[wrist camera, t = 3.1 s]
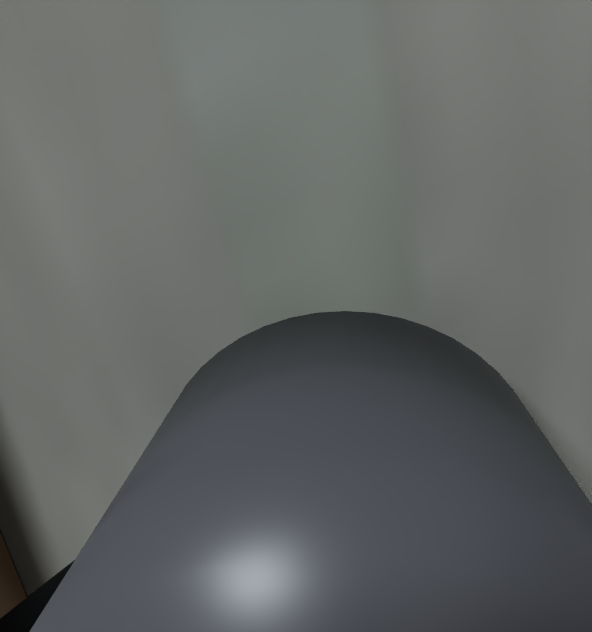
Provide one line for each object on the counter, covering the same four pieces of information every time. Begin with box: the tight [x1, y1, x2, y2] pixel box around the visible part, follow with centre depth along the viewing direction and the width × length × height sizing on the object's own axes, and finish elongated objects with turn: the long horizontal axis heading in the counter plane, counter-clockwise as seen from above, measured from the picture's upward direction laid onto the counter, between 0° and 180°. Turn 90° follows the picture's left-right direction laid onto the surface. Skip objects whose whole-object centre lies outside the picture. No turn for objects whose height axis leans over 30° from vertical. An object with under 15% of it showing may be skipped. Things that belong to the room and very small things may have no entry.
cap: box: [30, 311, 592, 632], centre depth 6 cm, size 6×6×5 cm
